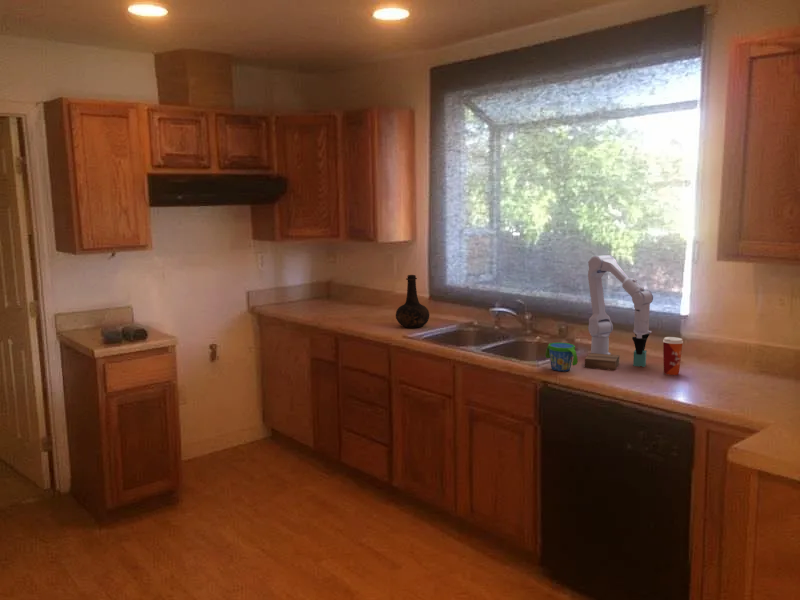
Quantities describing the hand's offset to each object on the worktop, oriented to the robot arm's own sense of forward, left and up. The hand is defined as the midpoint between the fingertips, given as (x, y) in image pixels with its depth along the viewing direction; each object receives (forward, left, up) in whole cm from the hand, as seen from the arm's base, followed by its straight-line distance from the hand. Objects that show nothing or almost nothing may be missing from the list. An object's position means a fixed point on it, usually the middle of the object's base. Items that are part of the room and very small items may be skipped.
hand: (640, 352), depth 292 cm
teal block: (0, 0, -5) cm, 5 cm away
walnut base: (+7, -14, -6) cm, 17 cm away
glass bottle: (-41, -121, -6) cm, 128 cm away
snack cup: (+21, -28, -6) cm, 35 cm away
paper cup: (+9, +13, -6) cm, 17 cm away
